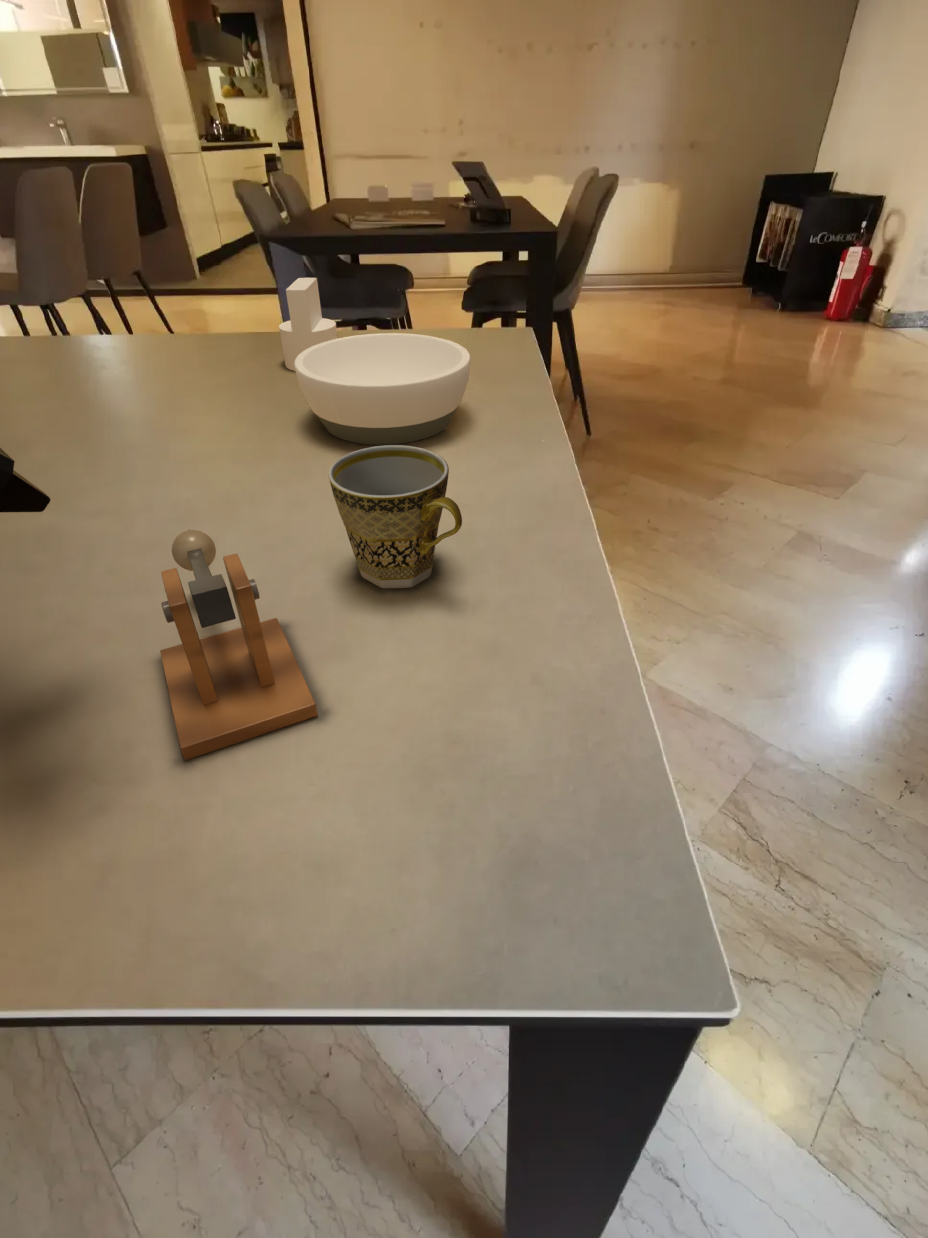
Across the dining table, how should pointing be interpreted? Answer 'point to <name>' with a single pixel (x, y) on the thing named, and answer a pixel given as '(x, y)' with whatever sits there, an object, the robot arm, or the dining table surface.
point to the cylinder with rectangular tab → (304, 321)
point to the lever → (203, 577)
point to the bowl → (384, 385)
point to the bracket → (230, 672)
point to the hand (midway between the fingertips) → (45, 503)
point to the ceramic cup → (393, 510)
